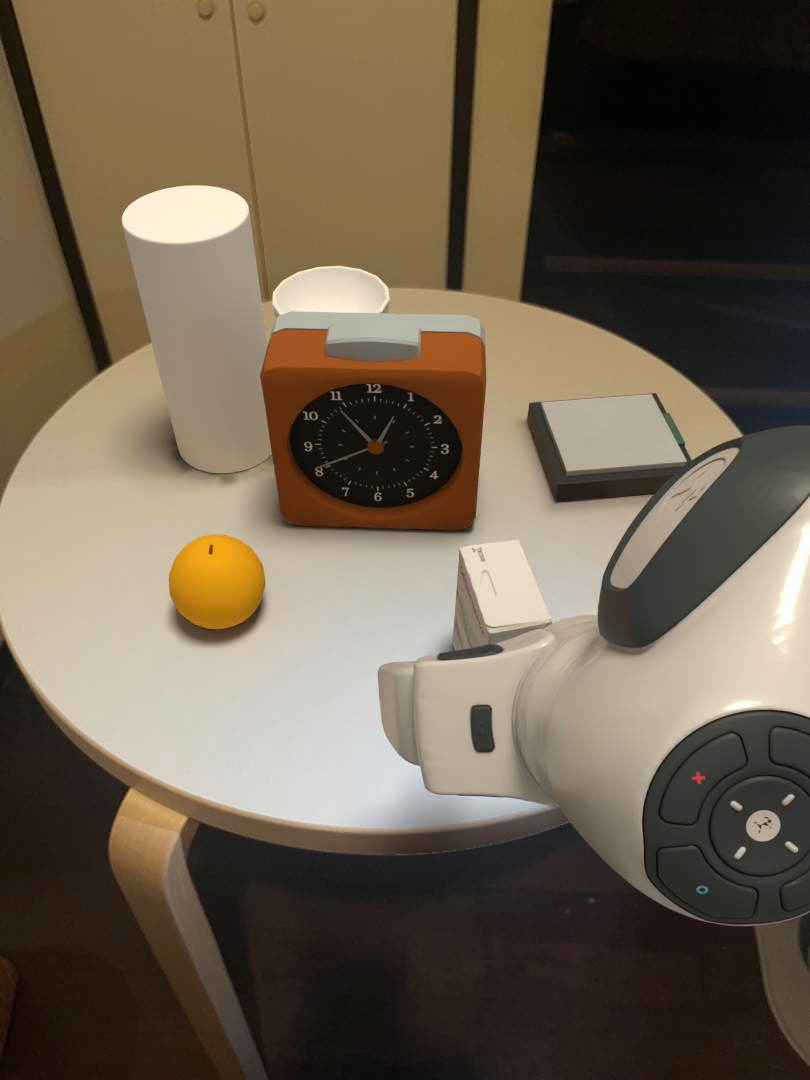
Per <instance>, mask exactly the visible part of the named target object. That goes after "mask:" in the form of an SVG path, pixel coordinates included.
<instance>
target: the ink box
mask: <svg viewBox="0 0 810 1080" xmlns="http://www.w3.org/2000/svg"><path fill="white" fill-rule="evenodd" d="M458 549H459V551H458V565H457V578H456V579H457V580H456V582H457V583H456V592H455V593H456V595H455V605H454V615H453V616H454V620H453V629H452V630H453V631H452V646H453V649H454V651H456V650H463V649H469V648H474V647H479V646H483V645H487V644H496V643H499V642H503V641H506V640H508V639H511V638H514V637H517V636H519V635H522V634H524V633H527V632H530V631H534V630H538V629H544V628H546V627H547V626H549V625H551V624H553V618H552V617H551V614H550V611H549V608H548V607H547V604H546V602H545V599H544V597H543V595H542V591H541V590H540V589H541V588H540V587H539V585H538V582H537V580H536V577H535V575H534V572H533V570H532V568H531V565H530V562H529V560H528V558H527V556H526V555H527V554H526V553H525V550H524V548H523V546H522V543H521V541H520V539H518V538H515V539H514V538H513V539H505V540H498V541H490V542H485V543H479V544H471V545H466V546H465V545H464V546H460V547H459V548H458Z"/></svg>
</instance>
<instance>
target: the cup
mask: <svg viewBox="0 0 810 1080" xmlns="http://www.w3.org/2000/svg"><path fill="white" fill-rule="evenodd" d="M390 297H391V296H390V292H389V287H388V285H386V284H385V283H384V282H383V280H382V279H381V278H380V277H379V276H378V275H375V274H373V273H371V272H369V271H366V270H364V269H361V268H355V267H349V266H344V265H330V266H317V267H313V268H309V269H305V270H302V271H301V270H300V271H297V272H295V273H294V274H291V275H290V276H289V277H286V278H285V279H283V280H282V281H281V282H280V283H279V284H278V285H277V287H276V288H275V289H274V290H273V292H272V297H271V299H272V302H271V305H272V309H273V312H274V315H275V320H276V319H277V317H278V316H280V315H282V314H285V313H288V312H290V311H296V312H344V313H389V308H390V302H391V298H390Z"/></svg>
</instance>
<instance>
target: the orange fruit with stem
mask: <svg viewBox="0 0 810 1080" xmlns="http://www.w3.org/2000/svg"><path fill="white" fill-rule="evenodd" d="M168 588H169V589H168V591H169V596H170V598H171V601H172V603H173V604H174V605H175V607H176V609H177V611H178V612H179V614H180V615H181V616H182V617H184V618H185V619H186V620H188V621H189V622H191V623H192V624H193V625H196V626H199V627H201V628H203V629H208V630H223V629H229V628H232V627H234V626H236V625H239V624H241V623H243V622H245V621H247V619H249V618H250V617H251V616H252V615H253V614H254V613H255V611H256V610H257V608H258V607H259V606H260V604H261V602H262V600H263V596H264V592H265V589H266V576H265V569H264V565H263V563H262V560H261V559H260V558H259V556H258V555H257V554H256V553H255V551H254V549H252V547H251V546H249V545H248V544H247V543H245V542H243V541H242V540H240V539H239V538H236V537H232V536H229V535H226V534H217V533H216V534H215V533H214V534H207V535H203V536H200V537H198V538H195V539H193V540H191V541H190V542H189V543H188V544H186V545H185V546H183V548H181V550H180V551H179V552H178V554H177V555H176V556H175V558H174V559H173V562H172V564H171V567H170V571H169V574H168Z"/></svg>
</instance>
